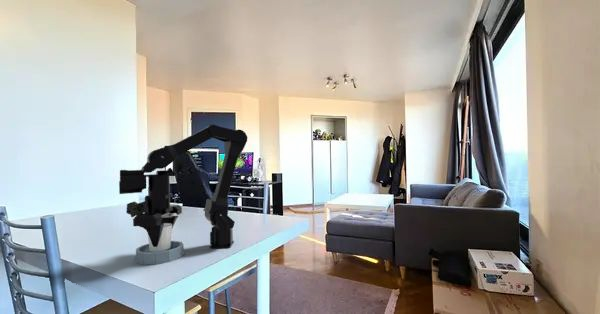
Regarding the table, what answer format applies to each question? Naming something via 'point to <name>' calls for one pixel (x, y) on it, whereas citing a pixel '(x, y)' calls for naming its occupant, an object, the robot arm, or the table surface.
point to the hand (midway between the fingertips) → (160, 243)
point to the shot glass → (163, 239)
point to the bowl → (159, 254)
